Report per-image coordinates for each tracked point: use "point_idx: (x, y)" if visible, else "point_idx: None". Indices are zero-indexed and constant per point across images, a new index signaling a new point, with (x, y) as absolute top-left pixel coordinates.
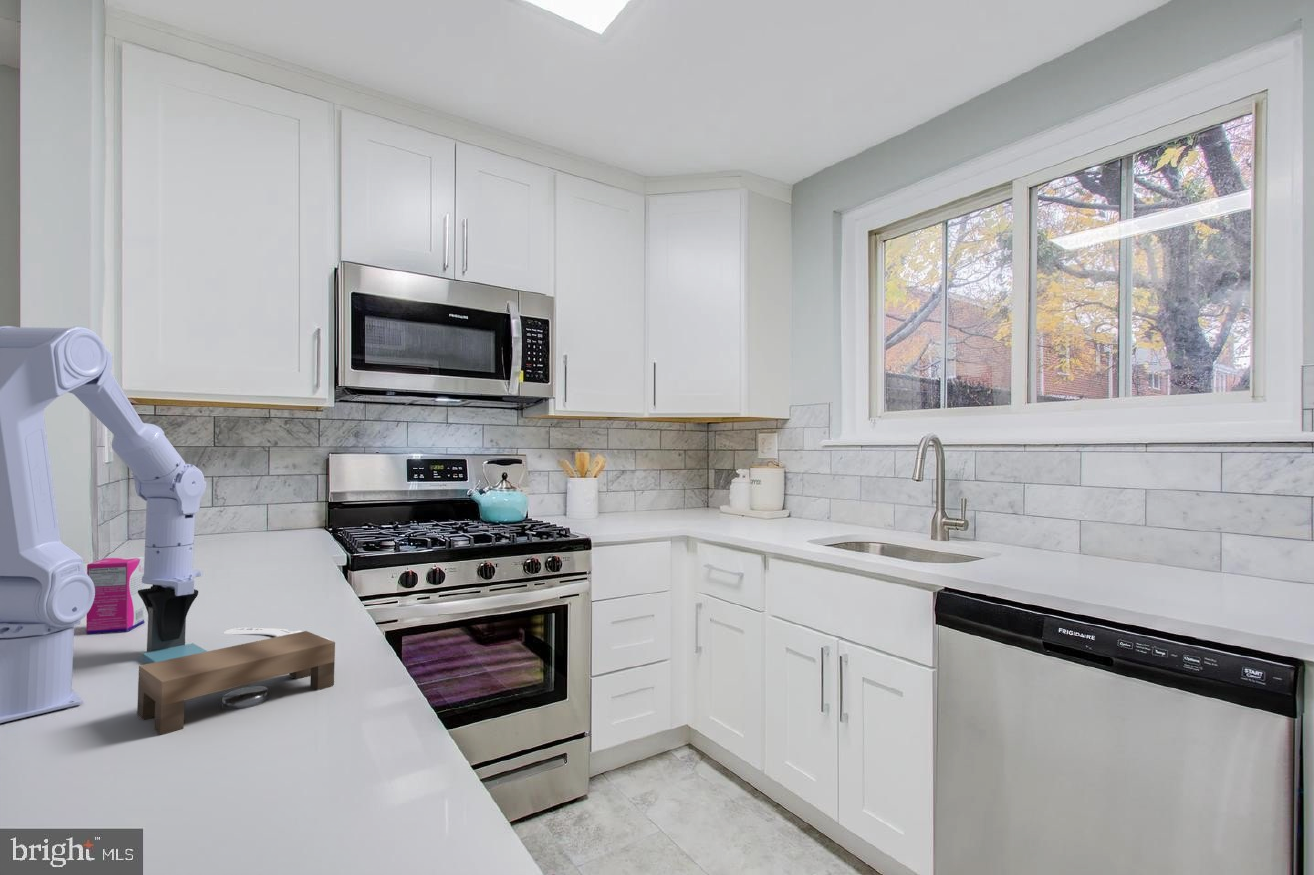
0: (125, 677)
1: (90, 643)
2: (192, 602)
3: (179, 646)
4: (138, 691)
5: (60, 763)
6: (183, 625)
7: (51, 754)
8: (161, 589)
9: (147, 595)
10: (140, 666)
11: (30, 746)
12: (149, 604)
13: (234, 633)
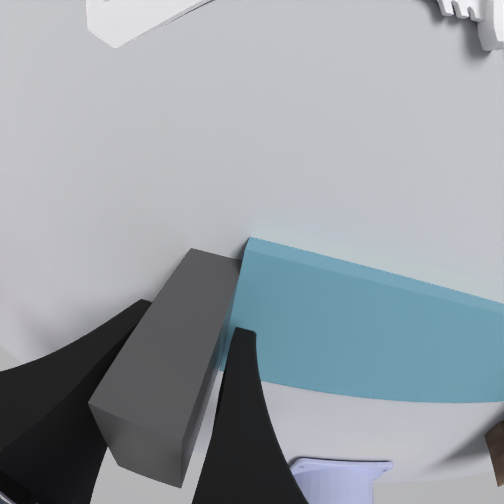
0: (334, 417)
1: (7, 298)
2: (297, 488)
3: (243, 295)
4: (492, 459)
5: (480, 465)
6: (256, 368)
7: (463, 469)
8: (59, 500)
9: (87, 498)
10: (501, 485)
11: (434, 477)
12: (99, 462)
13: (161, 18)
